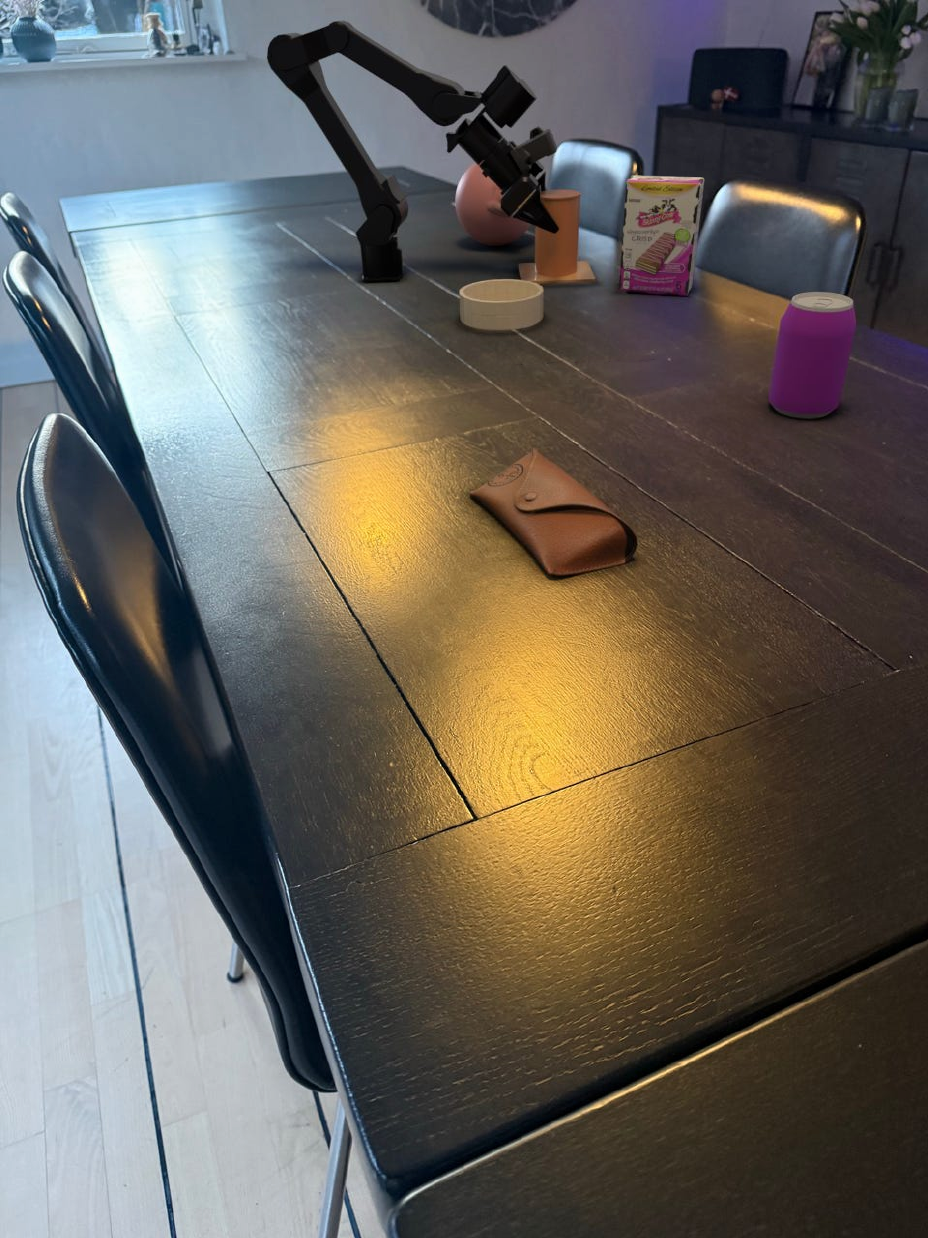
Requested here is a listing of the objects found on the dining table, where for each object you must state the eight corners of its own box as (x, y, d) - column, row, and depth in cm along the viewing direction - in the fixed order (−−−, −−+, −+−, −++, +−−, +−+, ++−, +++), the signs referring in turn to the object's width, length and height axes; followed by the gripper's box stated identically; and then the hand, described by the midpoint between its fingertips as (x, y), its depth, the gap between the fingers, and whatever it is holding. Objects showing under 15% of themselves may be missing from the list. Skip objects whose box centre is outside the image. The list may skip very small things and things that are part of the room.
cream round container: (460, 335, 128) (459, 303, 125) (460, 310, 138) (459, 280, 135) (545, 332, 128) (546, 300, 125) (540, 307, 138) (540, 277, 135)
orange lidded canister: (559, 278, 147) (561, 199, 141) (525, 272, 152) (525, 194, 145) (586, 269, 152) (589, 191, 145) (552, 263, 156) (554, 187, 149)
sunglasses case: (461, 490, 87) (492, 428, 85) (517, 509, 91) (547, 450, 89) (551, 579, 73) (590, 507, 71) (612, 597, 77) (651, 529, 75)
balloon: (468, 262, 162) (465, 169, 154) (451, 239, 179) (447, 153, 170) (550, 256, 164) (552, 163, 155) (526, 233, 180) (526, 148, 172)
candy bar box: (617, 293, 143) (624, 180, 133) (623, 285, 146) (630, 174, 137) (689, 297, 139) (701, 181, 130) (693, 288, 143) (705, 175, 134)
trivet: (522, 287, 148) (522, 281, 147) (518, 269, 157) (519, 263, 157) (595, 284, 147) (595, 278, 147) (587, 266, 157) (587, 260, 157)
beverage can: (828, 425, 97) (851, 314, 91) (758, 413, 101) (775, 305, 94) (845, 402, 103) (868, 294, 96) (778, 391, 106) (795, 286, 99)
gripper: (522, 116, 131) (594, 198, 136) (531, 103, 146) (596, 177, 151) (470, 176, 137) (541, 252, 142) (484, 157, 152) (548, 227, 157)
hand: (558, 225), depth 148 cm, fingers open, 9 cm apart
